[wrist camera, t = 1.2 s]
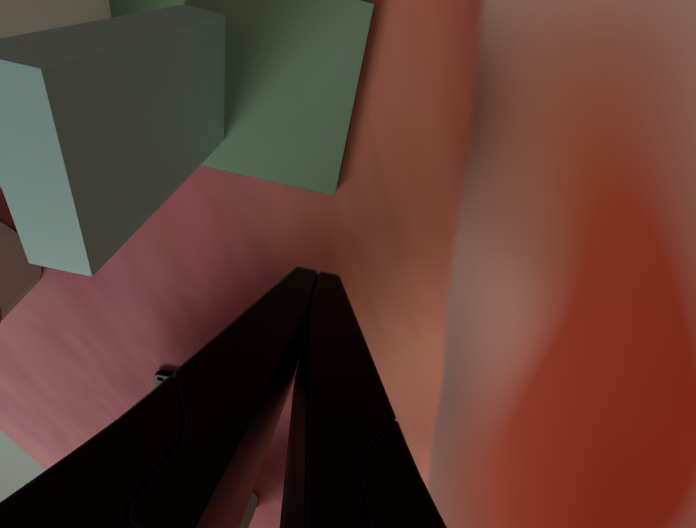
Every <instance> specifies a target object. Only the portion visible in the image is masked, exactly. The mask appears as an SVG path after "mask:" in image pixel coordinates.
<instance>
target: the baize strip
mask: <svg viewBox="0 0 696 528" xmlns="http://www.w3.org/2000/svg"><path fill="white" fill-rule="evenodd" d="M109 3H110V11H111V18H113V17H118V16H124V15H129V14H134V13H140V12H145V11H151V10H156V9H161V8H167V7H172V6H177V5H183V4H185V5H189V6H193V7H197V8H201V9H205V10H209V11H213V12H217V13H221V14H225V15H226V27H225V101H224V141H223V142H222V143H221V144H220V145H219V146H218V147H217V148H216V149H215V150H214V151H213V152H212V153H211V154H210V155H209V156H208V157H207V159H206V160H205V161H204V162H203V163H202V164H201V165H202V166H206V167H211V168H215V169H219V170H224V171H228V172H233V173H237V174H241V175H246V176H250V177H254V178H259V179H263V180H268V181H272V182H276V183H281V184H285V185H290V186H294V187H298V188H303V189H307V190H312V191H316V192H320V193H325V194H329V195H333V196H335V192H336V188H337V183H338V178H339V173H340V168H341V163H342V159H343V154H344V149H345V144H346V139H347V134H348V130H349V125H350V120H351V115H352V110H353V105H354V100H355V96H356V91H357V86H358V81H359V76H360V71H361V66H362V62H363V57H364V52H365V47H366V42H367V37H368V33H369V28H370V23H371V18H372V13H373V8H374V3H373V2H369V1H365V0H109Z"/></svg>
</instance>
